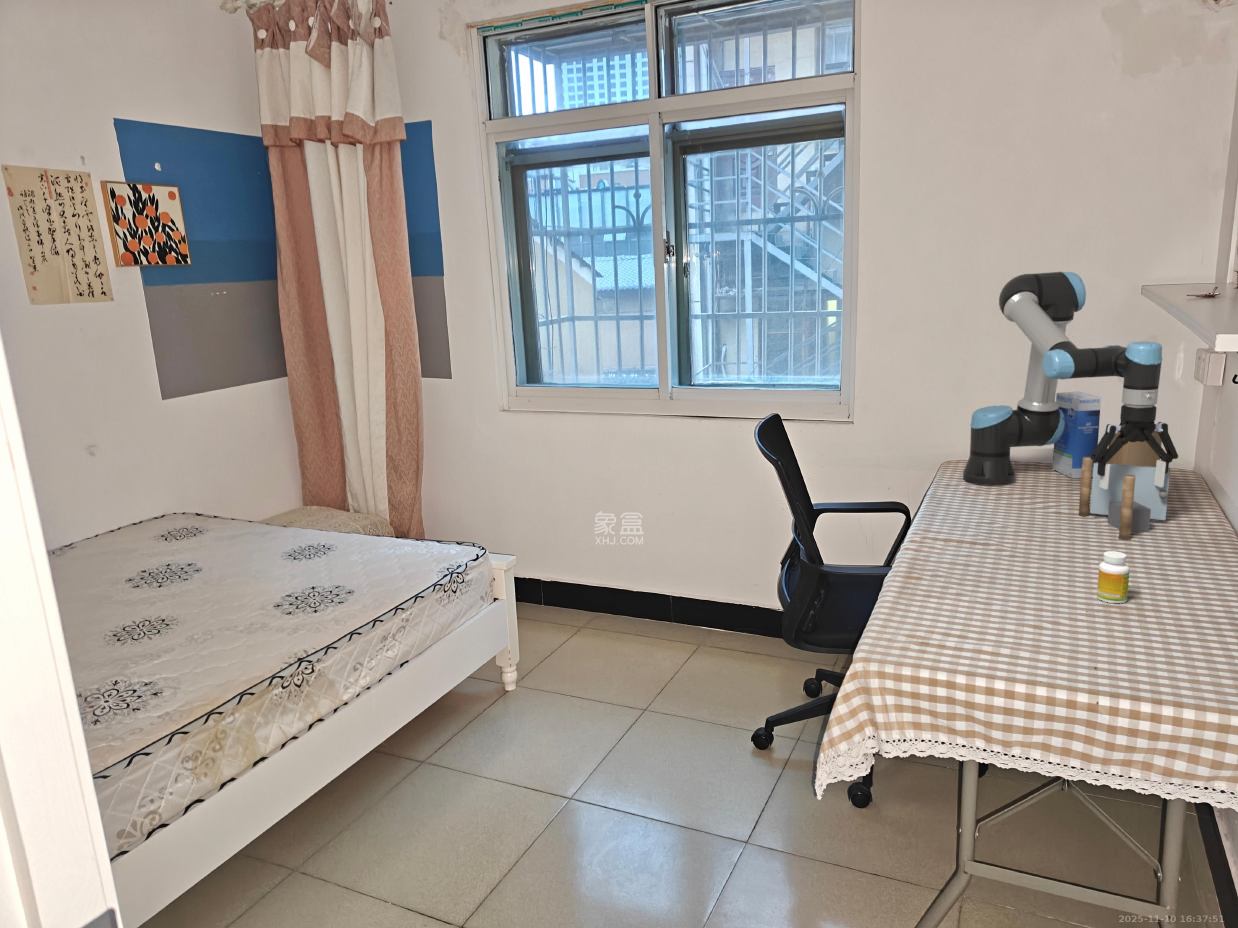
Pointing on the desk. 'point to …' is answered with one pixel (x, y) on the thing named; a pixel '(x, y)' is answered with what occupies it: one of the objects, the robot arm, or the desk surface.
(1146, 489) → the door
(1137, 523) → the block
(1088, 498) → the door frame
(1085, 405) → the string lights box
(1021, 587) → the desk surface
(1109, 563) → the supplement bottle
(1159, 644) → the desk surface
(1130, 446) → the wooden block
